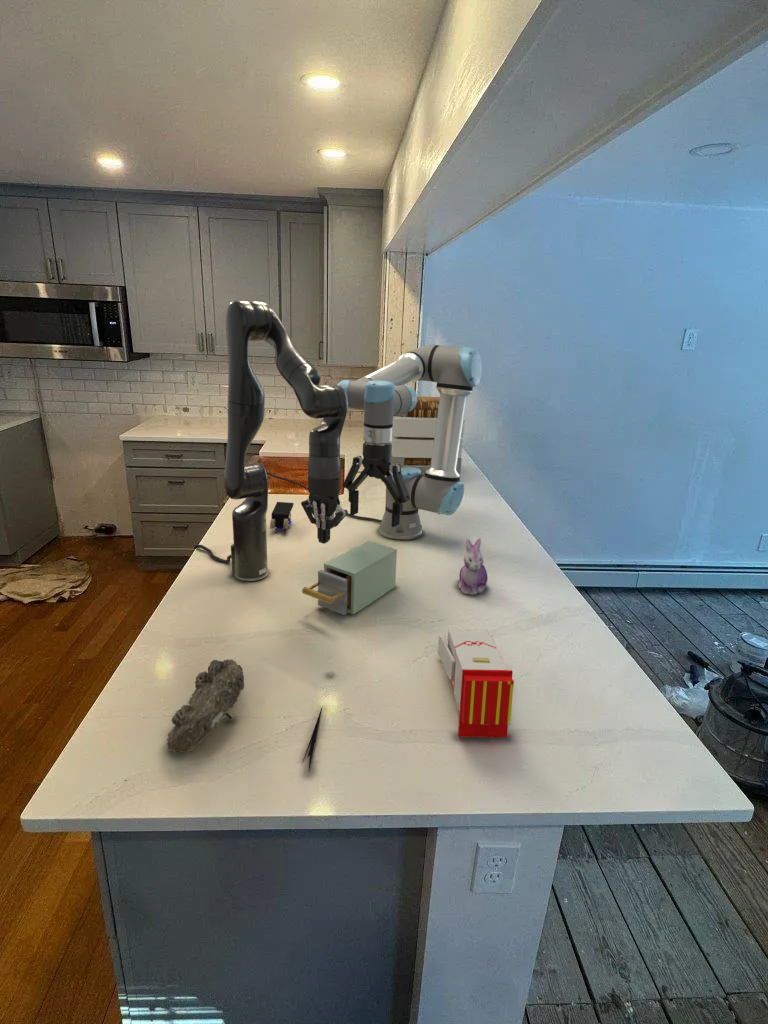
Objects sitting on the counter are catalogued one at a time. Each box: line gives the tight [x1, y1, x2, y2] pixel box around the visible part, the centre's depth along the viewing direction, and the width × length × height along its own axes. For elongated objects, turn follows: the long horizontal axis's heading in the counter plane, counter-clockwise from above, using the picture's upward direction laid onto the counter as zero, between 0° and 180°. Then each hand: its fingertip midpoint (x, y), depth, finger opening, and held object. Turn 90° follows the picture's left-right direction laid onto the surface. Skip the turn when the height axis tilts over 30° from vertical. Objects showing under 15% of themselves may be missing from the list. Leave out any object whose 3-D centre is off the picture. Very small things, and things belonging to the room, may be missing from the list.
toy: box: [437, 628, 515, 738], centre depth 117 cm, size 12×13×30 cm
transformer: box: [389, 395, 465, 482], centre depth 268 cm, size 34×33×41 cm
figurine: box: [457, 537, 488, 596], centre depth 160 cm, size 9×10×15 cm
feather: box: [301, 673, 332, 771], centre depth 108 cm, size 2×28×2 cm
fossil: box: [166, 658, 245, 754], centre depth 106 cm, size 22×10×15 cm
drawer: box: [301, 569, 351, 616], centre depth 149 cm, size 24×9×10 cm, turn 146°
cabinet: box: [323, 540, 398, 615], centre depth 155 cm, size 20×10×12 cm, turn 146°
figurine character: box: [269, 501, 294, 534], centre depth 199 cm, size 7×8×15 cm
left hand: (323, 542), depth 137 cm, fingers closed
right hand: (374, 519), depth 153 cm, fingers open, 13 cm apart
